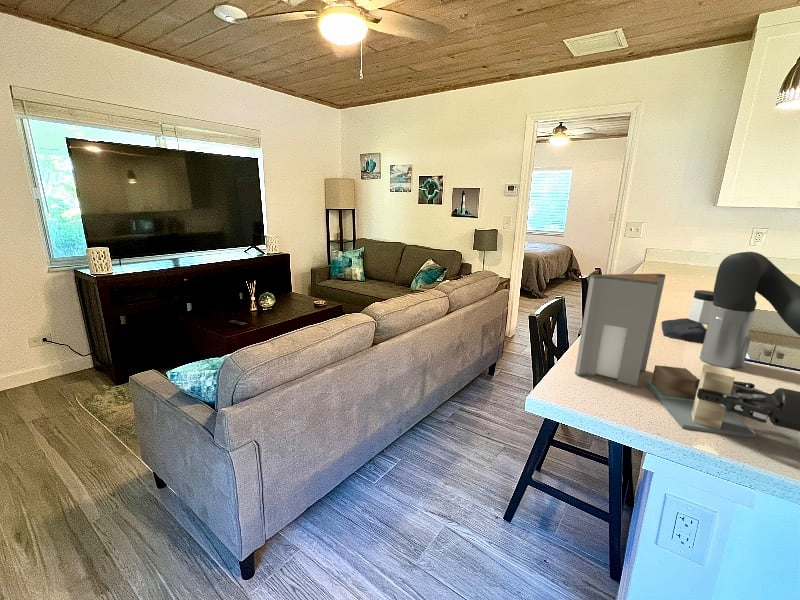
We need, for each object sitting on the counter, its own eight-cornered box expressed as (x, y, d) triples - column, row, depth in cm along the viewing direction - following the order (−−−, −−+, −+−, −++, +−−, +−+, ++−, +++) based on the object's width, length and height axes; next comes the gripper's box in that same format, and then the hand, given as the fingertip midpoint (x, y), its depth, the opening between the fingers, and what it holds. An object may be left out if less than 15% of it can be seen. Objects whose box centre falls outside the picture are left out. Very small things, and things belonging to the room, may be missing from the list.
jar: (720, 324, 148) (727, 294, 145) (703, 325, 146) (710, 295, 143) (698, 317, 157) (704, 289, 153) (682, 318, 155) (688, 290, 152)
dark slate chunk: (706, 329, 143) (709, 317, 142) (718, 347, 125) (721, 334, 124) (659, 322, 151) (661, 311, 149) (663, 338, 132) (665, 326, 131)
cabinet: (640, 369, 107) (660, 273, 99) (669, 385, 98) (693, 281, 90) (574, 373, 103) (590, 274, 96) (598, 391, 94) (617, 283, 87)
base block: (681, 386, 96) (686, 368, 94) (695, 400, 89) (700, 381, 88) (651, 382, 97) (655, 365, 96) (662, 396, 91) (667, 377, 89)
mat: (701, 390, 95) (702, 387, 95) (754, 437, 76) (755, 434, 76) (645, 383, 98) (645, 381, 98) (682, 428, 79) (683, 424, 79)
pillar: (717, 419, 81) (731, 369, 78) (720, 429, 78) (734, 377, 74) (691, 412, 84) (703, 363, 80) (693, 422, 80) (706, 371, 77)
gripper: (815, 450, 67) (695, 418, 76) (791, 413, 78) (689, 390, 87) (828, 413, 65) (704, 385, 74) (802, 381, 76) (697, 360, 85)
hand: (697, 388), depth 80 cm, fingers closed on pillar, 4 cm apart
